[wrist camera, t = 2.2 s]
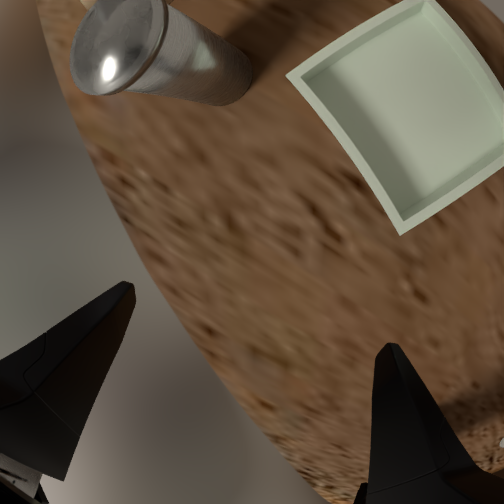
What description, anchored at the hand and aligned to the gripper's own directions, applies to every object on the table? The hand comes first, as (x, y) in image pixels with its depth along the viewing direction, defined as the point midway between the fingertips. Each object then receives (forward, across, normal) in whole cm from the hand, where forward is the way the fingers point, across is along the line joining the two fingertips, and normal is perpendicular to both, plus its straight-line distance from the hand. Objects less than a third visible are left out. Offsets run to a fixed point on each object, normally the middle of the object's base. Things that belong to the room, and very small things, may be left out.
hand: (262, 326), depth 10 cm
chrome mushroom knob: (+15, +6, -6) cm, 17 cm away
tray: (+12, -7, -8) cm, 16 cm away
